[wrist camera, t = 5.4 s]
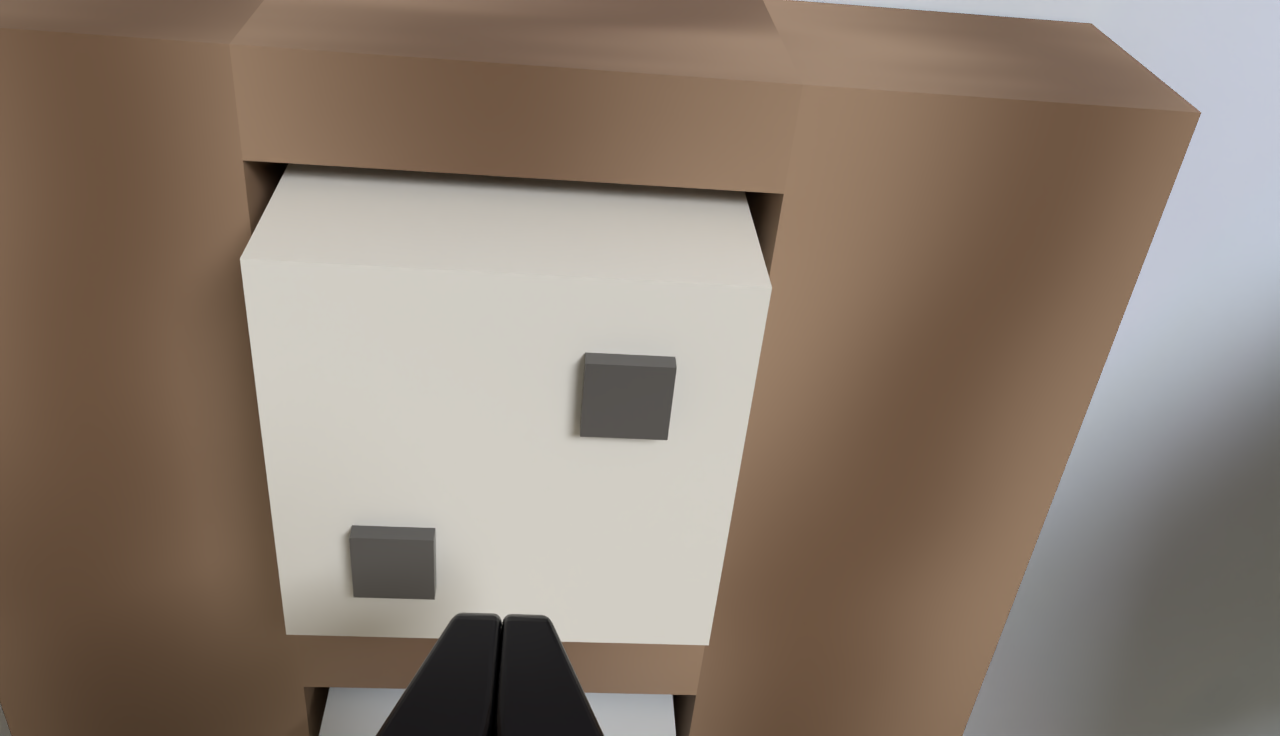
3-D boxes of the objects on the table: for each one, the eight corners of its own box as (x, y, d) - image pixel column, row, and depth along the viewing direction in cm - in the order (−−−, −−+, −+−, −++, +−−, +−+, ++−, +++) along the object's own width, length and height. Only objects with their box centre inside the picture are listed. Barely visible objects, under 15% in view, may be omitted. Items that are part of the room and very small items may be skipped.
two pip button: (735, 161, 13) (774, 298, 11) (688, 485, 16) (710, 657, 13) (304, 133, 13) (234, 269, 10) (331, 471, 16) (282, 648, 13)
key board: (1091, 24, 14) (1200, 112, 12) (785, 1003, 27) (806, 1142, 25) (-80, -67, 13) (-238, 11, 10) (194, 1005, 26) (154, 1151, 24)
